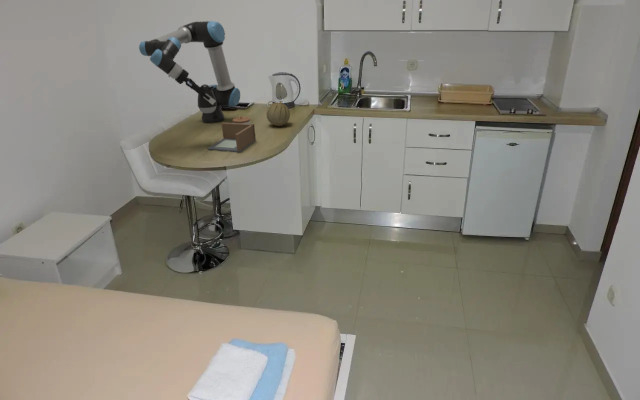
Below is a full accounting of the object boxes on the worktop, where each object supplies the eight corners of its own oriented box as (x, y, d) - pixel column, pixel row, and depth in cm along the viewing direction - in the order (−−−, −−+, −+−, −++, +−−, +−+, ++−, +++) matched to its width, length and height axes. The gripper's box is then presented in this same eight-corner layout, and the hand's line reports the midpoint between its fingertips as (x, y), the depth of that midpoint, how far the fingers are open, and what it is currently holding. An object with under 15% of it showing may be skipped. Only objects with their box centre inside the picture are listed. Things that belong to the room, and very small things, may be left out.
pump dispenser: (211, 114, 242) (207, 86, 236) (195, 113, 246) (191, 85, 239) (221, 110, 251) (218, 83, 245) (205, 109, 254) (201, 82, 248)
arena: (207, 150, 247) (204, 132, 243) (225, 139, 264) (222, 122, 260) (240, 152, 241) (237, 134, 237) (255, 141, 259) (254, 124, 254)
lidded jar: (232, 130, 281) (230, 115, 277) (248, 127, 284) (247, 113, 280) (236, 134, 272) (234, 119, 268) (253, 132, 275) (251, 117, 271)
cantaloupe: (263, 128, 283) (261, 104, 276) (273, 121, 295) (271, 99, 289) (285, 129, 278) (283, 105, 272) (294, 123, 290) (292, 100, 284)
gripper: (172, 76, 245) (206, 102, 257) (175, 82, 226) (211, 110, 238) (181, 65, 245) (214, 92, 256) (184, 71, 226) (220, 99, 237)
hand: (212, 101), depth 247 cm, fingers closed on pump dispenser, 9 cm apart
